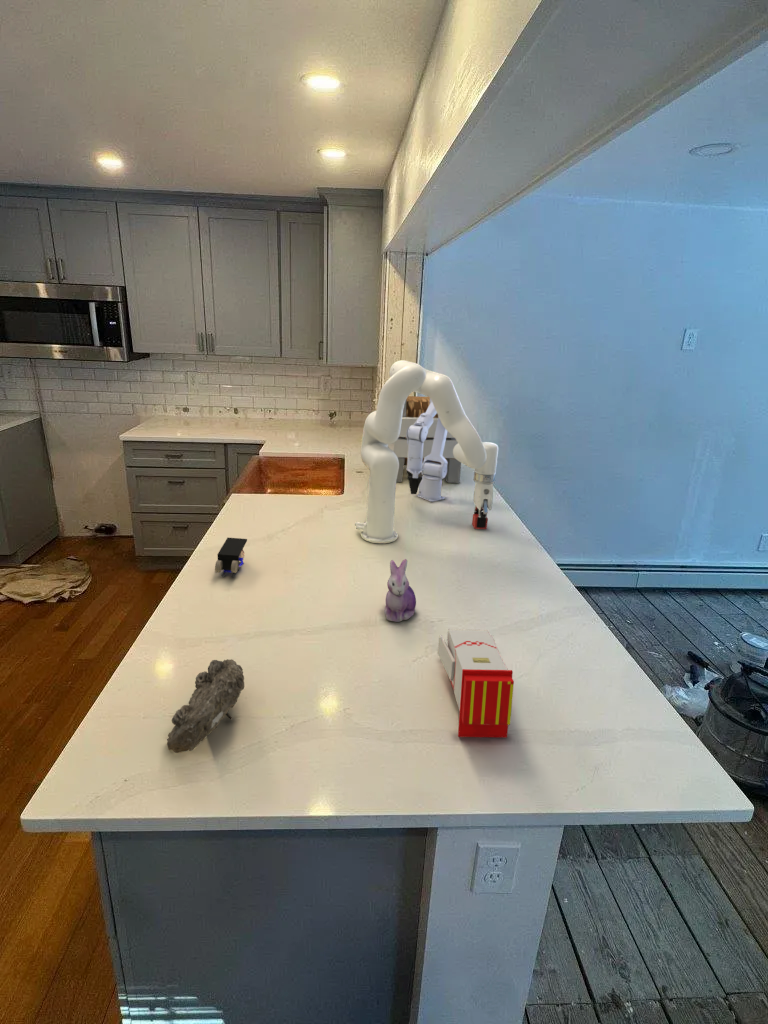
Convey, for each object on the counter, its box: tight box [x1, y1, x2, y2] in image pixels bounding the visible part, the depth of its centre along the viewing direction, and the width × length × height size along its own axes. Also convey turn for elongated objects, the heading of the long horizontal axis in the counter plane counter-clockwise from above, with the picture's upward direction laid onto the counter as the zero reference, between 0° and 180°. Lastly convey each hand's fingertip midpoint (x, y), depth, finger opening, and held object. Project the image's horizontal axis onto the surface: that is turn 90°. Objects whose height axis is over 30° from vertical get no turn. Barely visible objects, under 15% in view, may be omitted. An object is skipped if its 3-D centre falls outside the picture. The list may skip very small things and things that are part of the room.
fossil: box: [166, 658, 245, 754], centre depth 106 cm, size 22×10×15 cm
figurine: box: [384, 558, 417, 623], centre depth 145 cm, size 9×10×15 cm
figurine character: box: [214, 537, 248, 578], centre depth 166 cm, size 7×8×15 cm
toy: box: [437, 628, 515, 738], centre depth 117 cm, size 12×13×30 cm
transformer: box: [388, 395, 462, 484], centre depth 268 cm, size 34×33×41 cm
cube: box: [471, 513, 489, 530], centre depth 208 cm, size 4×5×4 cm
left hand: (479, 524), depth 209 cm, fingers open, 4 cm apart
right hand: (413, 490), depth 221 cm, fingers open, 7 cm apart
